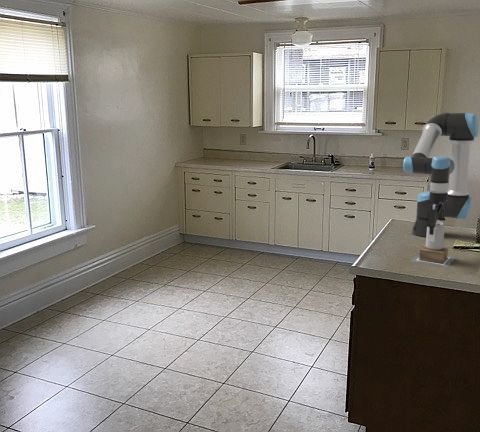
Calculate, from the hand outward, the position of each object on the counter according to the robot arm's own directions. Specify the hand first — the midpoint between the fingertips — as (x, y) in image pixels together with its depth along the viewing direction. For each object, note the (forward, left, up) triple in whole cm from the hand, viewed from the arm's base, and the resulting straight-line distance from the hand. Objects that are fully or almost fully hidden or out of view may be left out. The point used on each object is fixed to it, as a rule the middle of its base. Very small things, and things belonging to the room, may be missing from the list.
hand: (435, 237), depth 237 cm
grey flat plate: (0, 0, -11) cm, 11 cm away
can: (0, 0, -5) cm, 5 cm away
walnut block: (0, 0, -10) cm, 10 cm away
